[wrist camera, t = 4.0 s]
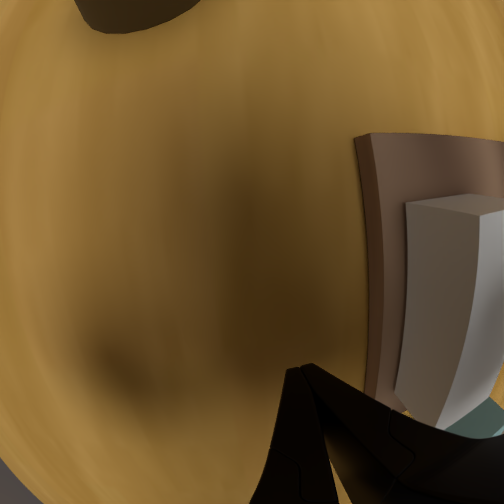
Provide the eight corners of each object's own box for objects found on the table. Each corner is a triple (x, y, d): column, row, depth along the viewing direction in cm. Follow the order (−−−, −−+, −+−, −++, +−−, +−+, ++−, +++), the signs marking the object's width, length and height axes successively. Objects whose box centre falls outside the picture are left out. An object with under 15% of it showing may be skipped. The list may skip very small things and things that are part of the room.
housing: (394, 392, 11) (429, 438, 7) (405, 202, 8) (479, 215, 5) (450, 363, 11) (488, 397, 7) (469, 193, 9) (531, 203, 5)
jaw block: (408, 436, 14) (443, 487, 9) (420, 400, 13) (467, 456, 8) (449, 412, 15) (486, 454, 9) (464, 374, 14) (511, 417, 8)
